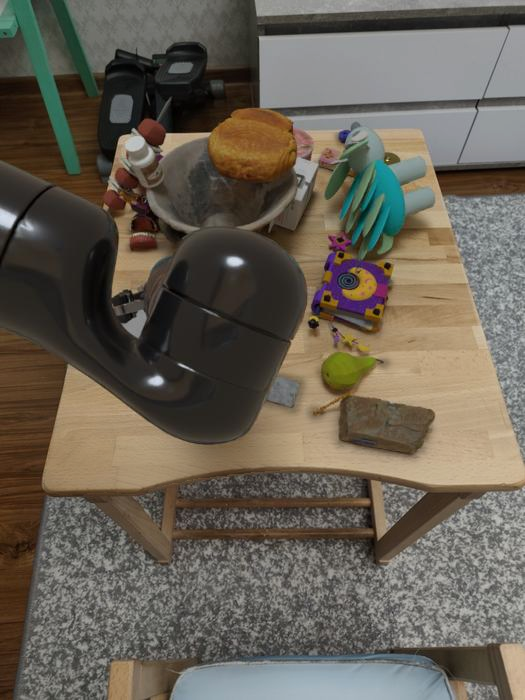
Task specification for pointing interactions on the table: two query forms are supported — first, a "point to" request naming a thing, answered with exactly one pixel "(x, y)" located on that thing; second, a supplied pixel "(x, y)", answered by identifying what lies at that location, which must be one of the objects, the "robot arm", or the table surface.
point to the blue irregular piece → (343, 135)
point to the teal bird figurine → (377, 189)
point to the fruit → (345, 369)
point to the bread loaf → (253, 146)
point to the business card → (284, 391)
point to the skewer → (126, 175)
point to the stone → (383, 423)
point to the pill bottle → (144, 162)
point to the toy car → (137, 203)
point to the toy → (331, 156)
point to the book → (351, 291)
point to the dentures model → (143, 238)
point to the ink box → (298, 194)
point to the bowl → (213, 195)
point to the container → (303, 144)
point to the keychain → (332, 402)
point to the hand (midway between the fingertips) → (179, 285)
